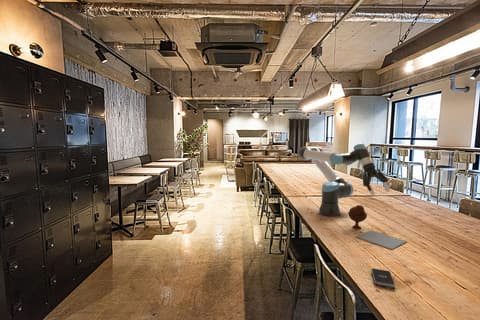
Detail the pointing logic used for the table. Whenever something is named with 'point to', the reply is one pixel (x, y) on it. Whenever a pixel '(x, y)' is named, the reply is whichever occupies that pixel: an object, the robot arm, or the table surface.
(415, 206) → the table surface
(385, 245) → the grey mat
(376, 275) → the external hard drive
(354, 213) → the ice cream bowl
